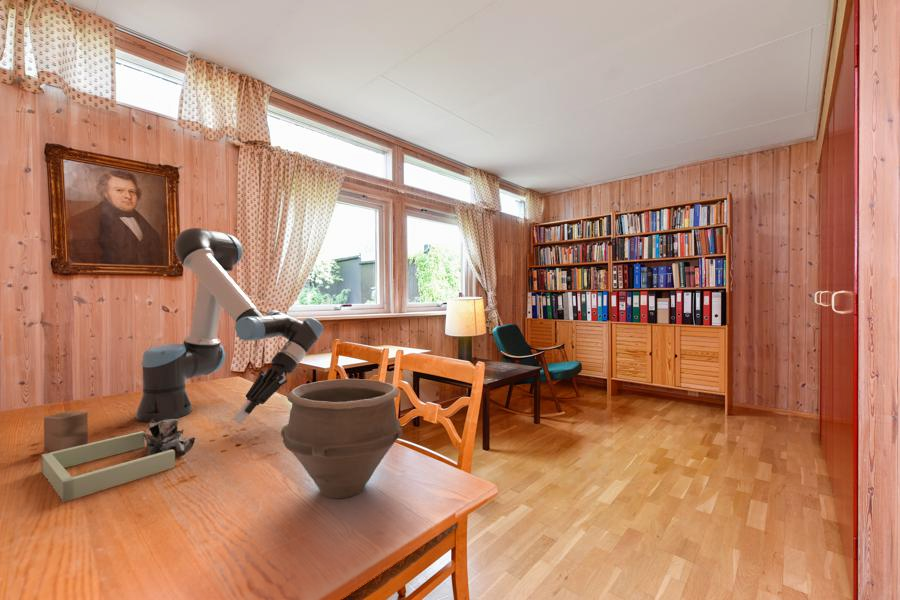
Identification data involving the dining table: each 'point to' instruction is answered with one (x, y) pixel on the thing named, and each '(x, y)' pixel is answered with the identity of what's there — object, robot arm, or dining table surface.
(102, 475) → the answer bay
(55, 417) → the walnut block
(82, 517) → the dining table surface
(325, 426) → the planter
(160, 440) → the grey crumpled lump
